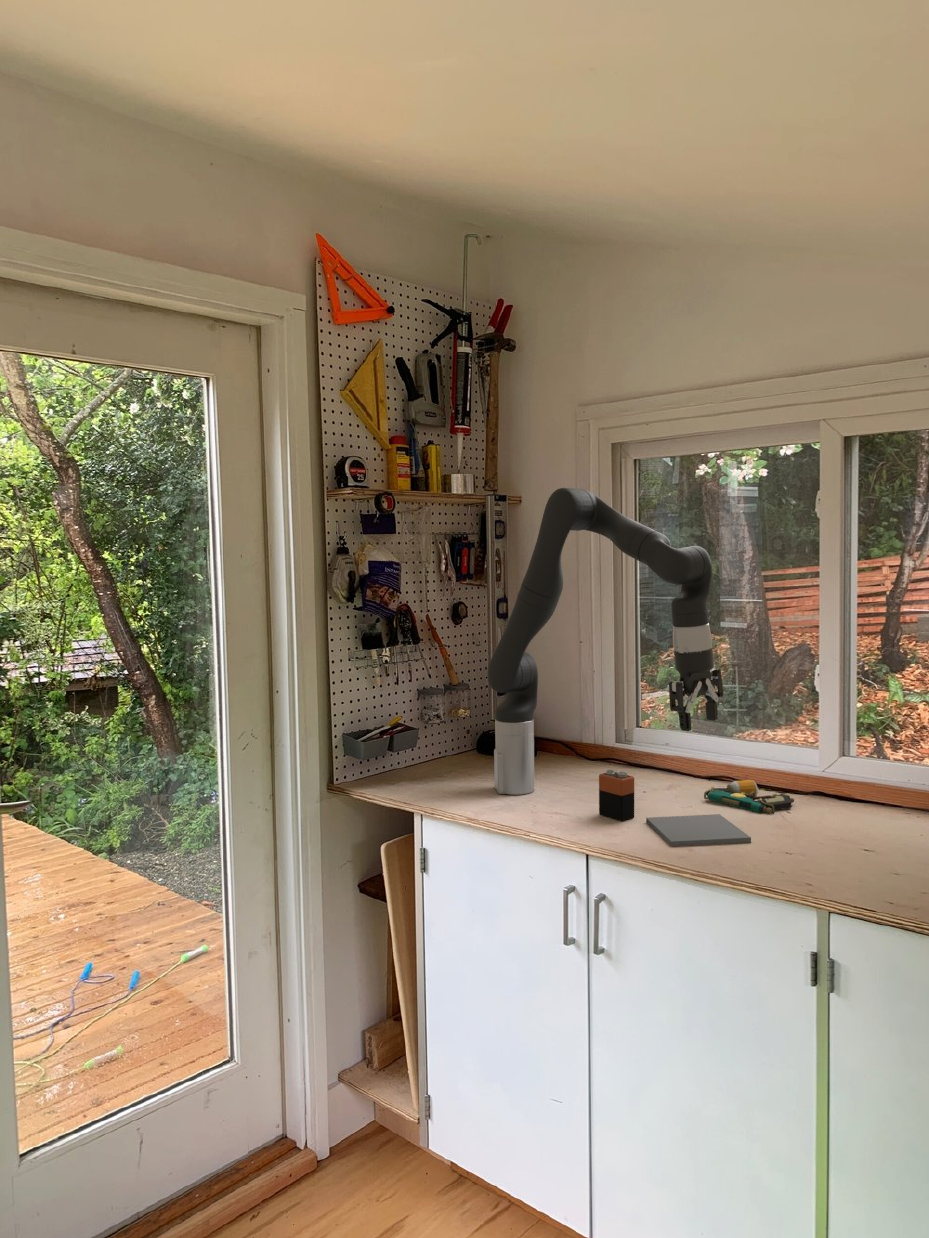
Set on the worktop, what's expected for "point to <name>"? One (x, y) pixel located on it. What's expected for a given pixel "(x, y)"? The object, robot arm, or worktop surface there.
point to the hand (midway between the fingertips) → (699, 725)
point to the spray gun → (748, 797)
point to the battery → (616, 795)
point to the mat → (697, 830)
